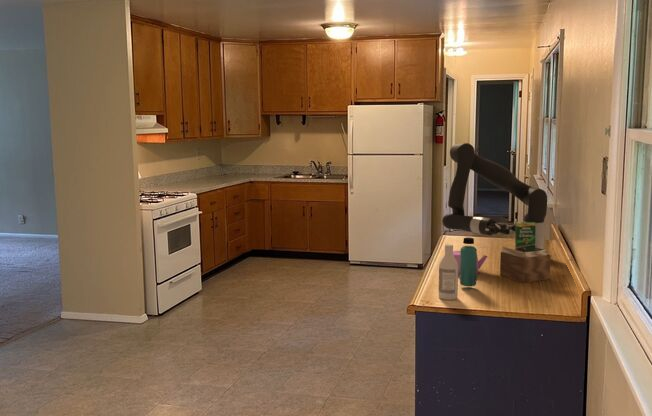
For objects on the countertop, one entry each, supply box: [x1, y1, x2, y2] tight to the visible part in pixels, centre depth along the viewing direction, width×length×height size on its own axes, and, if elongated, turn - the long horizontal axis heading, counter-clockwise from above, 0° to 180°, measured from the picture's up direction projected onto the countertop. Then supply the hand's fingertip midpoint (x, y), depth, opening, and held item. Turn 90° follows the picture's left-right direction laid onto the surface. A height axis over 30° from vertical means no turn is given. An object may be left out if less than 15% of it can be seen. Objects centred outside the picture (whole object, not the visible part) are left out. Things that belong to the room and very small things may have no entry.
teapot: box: [453, 250, 488, 276], centre depth 274 cm, size 18×10×10 cm, turn 80°
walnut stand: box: [499, 246, 552, 284], centre depth 265 cm, size 14×14×12 cm
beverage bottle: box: [459, 236, 478, 287], centre depth 248 cm, size 6×7×20 cm
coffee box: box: [514, 221, 536, 252], centre depth 264 cm, size 8×3×13 cm, turn 80°
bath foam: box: [438, 243, 459, 301], centre depth 234 cm, size 7×7×20 cm
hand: (515, 230), depth 267 cm, fingers open, 8 cm apart
